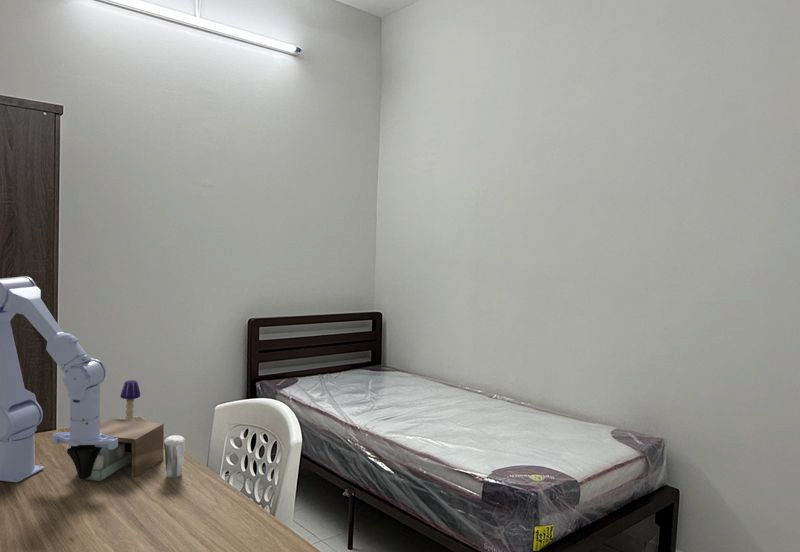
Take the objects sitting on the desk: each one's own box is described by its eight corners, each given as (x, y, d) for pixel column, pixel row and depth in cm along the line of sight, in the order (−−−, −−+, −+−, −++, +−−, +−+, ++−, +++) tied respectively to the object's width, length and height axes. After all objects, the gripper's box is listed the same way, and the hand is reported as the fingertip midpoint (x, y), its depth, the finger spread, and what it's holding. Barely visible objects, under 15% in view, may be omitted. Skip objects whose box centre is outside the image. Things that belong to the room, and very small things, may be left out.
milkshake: (180, 481, 129) (181, 437, 129) (159, 478, 130) (159, 435, 130) (192, 473, 134) (192, 431, 133) (171, 470, 135) (171, 428, 134)
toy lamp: (133, 440, 152) (134, 378, 151) (143, 444, 150) (144, 381, 148) (115, 445, 149) (116, 381, 147) (125, 449, 146) (126, 384, 145)
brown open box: (79, 470, 133) (79, 433, 132) (111, 453, 143) (111, 418, 143) (135, 477, 130) (136, 439, 130) (163, 458, 141) (163, 423, 141)
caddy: (79, 478, 129) (79, 447, 128) (114, 458, 140) (115, 430, 140) (100, 481, 128) (100, 450, 127) (133, 460, 140) (133, 432, 139)
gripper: (41, 419, 123) (41, 481, 124) (103, 425, 121) (102, 488, 122) (65, 409, 130) (65, 468, 131) (124, 415, 128) (123, 475, 129)
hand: (85, 477), depth 127 cm, fingers closed, pressing on caddy
